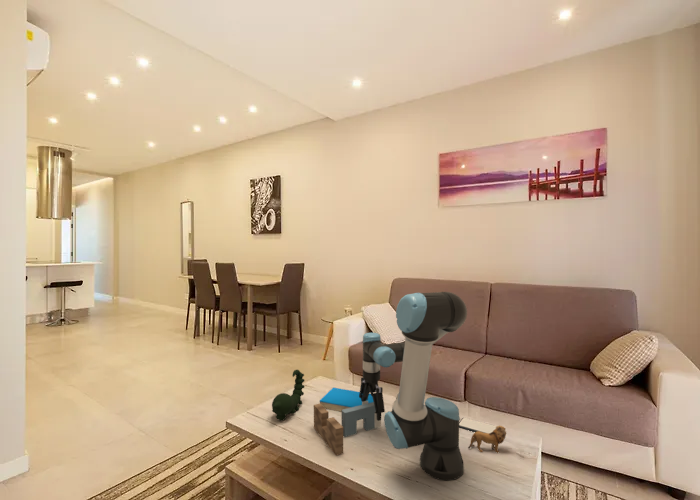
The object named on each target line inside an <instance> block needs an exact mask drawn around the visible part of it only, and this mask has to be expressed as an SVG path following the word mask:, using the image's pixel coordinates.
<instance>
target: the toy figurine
mask: <svg viewBox="0 0 700 500" xmlns="http://www.w3.org/2000/svg"><path fill="white" fill-rule="evenodd" d="M304 376H305V374H304V373H303V372H301V371H300V370H299V369H294V370H293V372H292V378H294V377H295V378H294V379H295V380H294V384H293V390H292V393H291V395H290V394H288V393H285V392H282V393H279V394H277V395H276V396H275V397H274V398H273V400H272V403H271V409H272V410H271V411H272V412H273V413H274V414H275V416H276V417H275V418H276V420H277V421H280V422H282V421H284V420H286V418H287V415H289V414H291V415H294V414H295V413H296V411H300V406H301V405H303V401H302V396H304V394H305V393H304V391H303V389H305V385H304V384H303V383H304V382H305V381H306V380H305V379H304V378H303V377H304ZM299 405H300V406H299Z"/></svg>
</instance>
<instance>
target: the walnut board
mask: <svg viewBox="0 0 700 500" xmlns="http://www.w3.org/2000/svg"><path fill="white" fill-rule="evenodd" d="M329 416H330V415H329V411H328V409H325V408H324V407H323V406H322V405H321V404H320V403H315V404H313V429H314V430H315V431H316V434H318V435H319V437H321V439H322V440H323V441H324V442H325V444H326V445H327V446H328V447H329V449H330V450H331V451H332V452H333V454H334V455H335V456H339V455H342V454H344V436H343V426H342V423H340V422H339V421H338V420H337V419H336V418H335V417H329Z"/></svg>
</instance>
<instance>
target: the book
mask: <svg viewBox="0 0 700 500" xmlns="http://www.w3.org/2000/svg"><path fill="white" fill-rule="evenodd" d="M359 393H360V391H356V390H351V389H350V390H349V389H344V388H337V387H332V388H331V389H330V390H329V391H328V392H327V393H326V394H325V395H324V396H322V398H320V400H319V402H318V403H319V404H321V405H322V406H323V407H324V408H325V409H326V410H331V411H334V412H335V411H336V412H340V411H341V413H342V410H343V409H347V408H351V407H355V406H360V405H362V401H361V398H359ZM366 401H368V403H372V402H374V401H373V397H372V396H371V393H369V396H368V400H366Z"/></svg>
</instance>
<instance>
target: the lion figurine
mask: <svg viewBox="0 0 700 500" xmlns="http://www.w3.org/2000/svg"><path fill="white" fill-rule="evenodd" d="M496 426H497V427H496V429H495V430H493V432H491V433H483V432H480V431H477V432H475V433H474V432H473V434H472V436H471V439H470V444H469V446H468V447H467V449H471V448H474V447H475V445H474V443H477V445H476V448H477V449H478V451H479V452H480V453H483V452H484V451H483V449H481V444H482V443H485V444H488V445H489V444H491V448H493V450H495V453H496V452H497V454H499V453H500V451H499V450H498V449H499V445H500V444H502V443H503V442H504V441H505V438H506V436H507V431H506V427H504V426H503V425H496ZM498 452H499V453H498Z"/></svg>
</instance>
